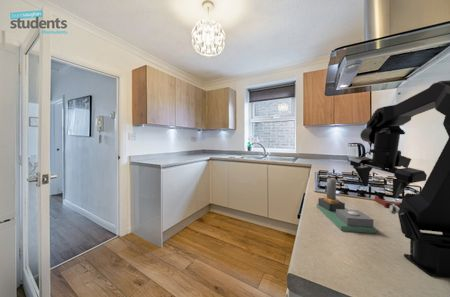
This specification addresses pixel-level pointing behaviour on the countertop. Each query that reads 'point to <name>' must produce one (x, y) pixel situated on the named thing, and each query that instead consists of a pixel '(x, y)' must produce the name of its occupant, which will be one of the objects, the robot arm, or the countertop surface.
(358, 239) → the countertop surface
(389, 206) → the pliers
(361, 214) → the grey button box
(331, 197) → the plug
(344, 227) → the board
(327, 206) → the frame
